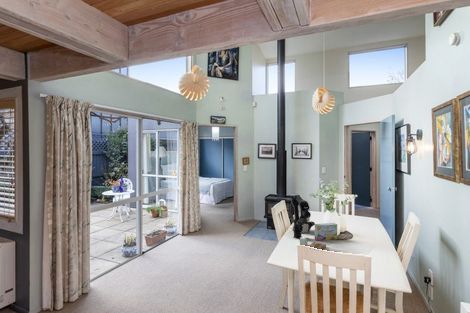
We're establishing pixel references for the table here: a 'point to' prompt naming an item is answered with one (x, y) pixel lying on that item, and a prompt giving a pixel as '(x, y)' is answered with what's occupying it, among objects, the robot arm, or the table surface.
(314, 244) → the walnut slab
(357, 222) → the table surface
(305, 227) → the canister
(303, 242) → the sage box
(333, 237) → the snack box
